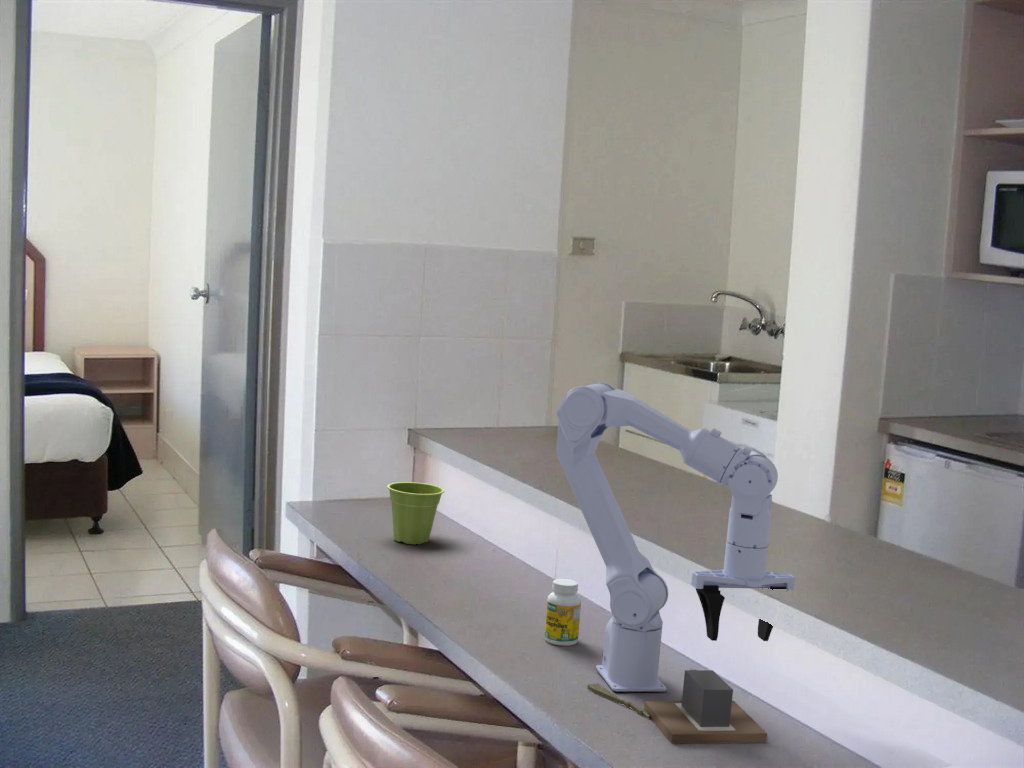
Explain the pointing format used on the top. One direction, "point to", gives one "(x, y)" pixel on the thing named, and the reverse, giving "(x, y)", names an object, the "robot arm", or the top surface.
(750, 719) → the pin board
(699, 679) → the block
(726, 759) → the top surface
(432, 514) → the plant pot
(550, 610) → the supplement bottle
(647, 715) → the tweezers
